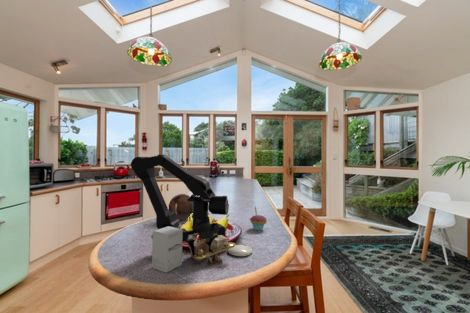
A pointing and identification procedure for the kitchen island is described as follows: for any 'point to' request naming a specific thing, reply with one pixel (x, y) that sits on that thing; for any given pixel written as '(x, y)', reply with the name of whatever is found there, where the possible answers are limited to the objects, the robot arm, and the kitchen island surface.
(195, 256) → the balance
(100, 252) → the kitchen island surface
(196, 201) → the robot arm
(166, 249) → the supplement box
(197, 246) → the walnut block
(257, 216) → the cupcake
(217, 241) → the maple block
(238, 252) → the dish
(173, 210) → the wooden sphere
